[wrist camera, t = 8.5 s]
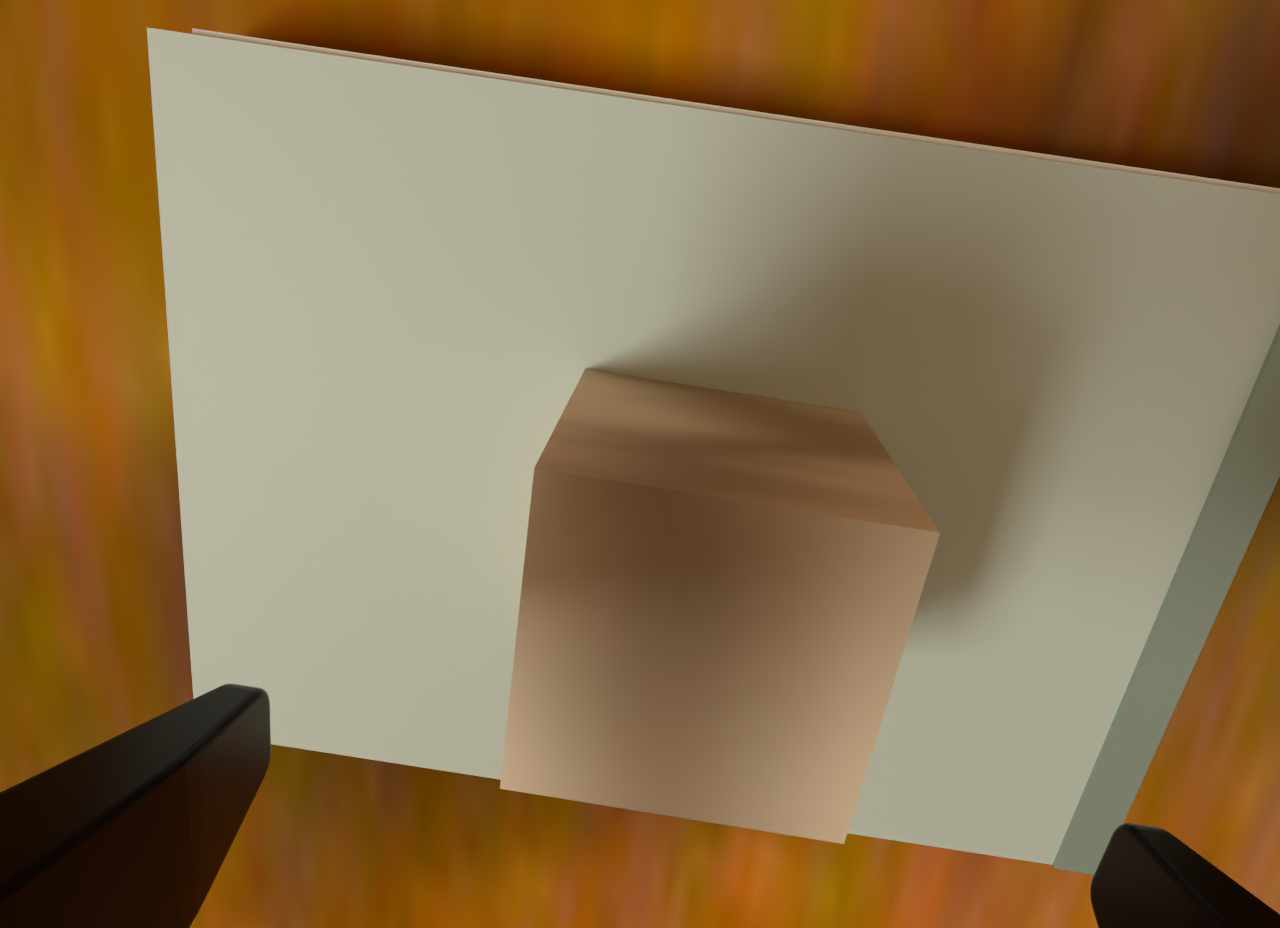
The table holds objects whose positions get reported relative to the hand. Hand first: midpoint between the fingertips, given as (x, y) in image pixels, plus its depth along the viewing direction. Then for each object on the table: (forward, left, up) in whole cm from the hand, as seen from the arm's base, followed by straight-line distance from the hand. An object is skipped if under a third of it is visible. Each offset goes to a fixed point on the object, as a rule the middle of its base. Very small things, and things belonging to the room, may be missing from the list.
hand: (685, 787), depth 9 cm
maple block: (0, 0, -7) cm, 7 cm away
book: (0, 0, -10) cm, 10 cm away
